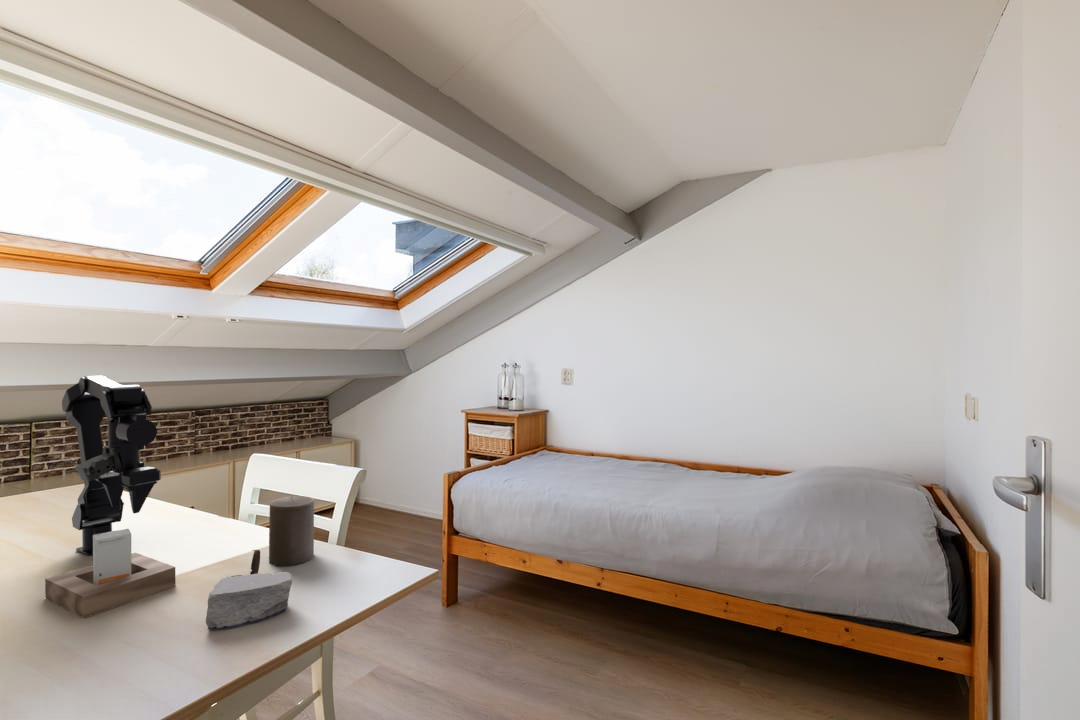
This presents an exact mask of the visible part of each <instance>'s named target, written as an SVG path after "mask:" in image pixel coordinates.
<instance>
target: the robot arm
mask: <svg viewBox="0 0 1080 720" xmlns="http://www.w3.org/2000/svg"><path fill="white" fill-rule="evenodd" d="M61 407H62V411H63V413H64V412H65V417H66V420H67V421H68V422H69V424H71V425H72V426H73V427H74V428H75V429H76V433H77V440H78V441H77V442H78V448H79V456H80V463H79V464H77V465H75V469H76V471H77V473H78V474H79V476H80V479H81V480H83V486H84V487H83V489H82V490H81V492H80V494H79V496H78V498H77V504H76V507H75V510H74V512H73V514H72V517H71V522H72V528H74V529H76V530H78V531H82V533H81V534H82V536H81V537H82V539H81V540H82V546H79V547H77V548H75V550H76V552H79V553H82V554H84V555H87V556H90V555H93V535H96V534H102V533H107V532H111V531H113V524H114V523H117V522H118V523H119V522H121V521H122V518H123V512H124V511H123V510H124V505H125V502H124V501H123V499H122V496H123V493H124V489H125V490H127V492H128V493H129V494H128V495H129V499H130V504H131V505H130V506H131V511H132V513H133V514H138V513H140V511H141V509H142V508H143V506H144V504H145V501H146V500H147V498H148V495H149V494H150V493H151V491H152V489H153V488H154V486H155V485H156V484H158V482H159V481H161V480H162V479H161V478H162V477H161V476H162V475H161V473H162V471H161V470H160V469H158V468H157V467H153V466H145V462H144V461H141V450H144V449H145V446H148V445H149V444H151V443H152V442H153V441H154V440H155V439H156V438H157V435H158V428H157V427H156V425H155V423H154V422H153V421H151V420H149V419H147V416H151V415H152V408H153V407H152V405H151V402H150V400H149V397H148V395H147V394H146V390H144V389H143V388H142V386H141V385H139V384H120V383H118V382H116V381H114V380H111V379H110V378H108V376H105V375H85V376H83V377H80V378H79V381H78V382H77V383H75V384H73V385H72V386H71V387H68V388H67V389H66V390H65V393H64V395H63V397H62V401H61ZM105 416H106V419H107V446H106V445H105V446H104V443H103V435H102V430H101V429H102V428H101V423H102V421H103V419H104V418H105Z"/></svg>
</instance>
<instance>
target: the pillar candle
mask: <svg viewBox="0 0 1080 720" xmlns="http://www.w3.org/2000/svg"><path fill="white" fill-rule="evenodd" d="M314 523H315V498H313V497H310V496H300V495H298V496H297V495H296V496H292V495H290V496H285V497H284V496H283V497H280V498H276V499H273V500H271V501H270V502H269V531H268V533H269V534H268V537H269V538H268V562H269V561H270V562H269V563H270V564H271V563H272V564H271V565H273V566H278V567H289V566H290V567H291V566H298V565H301V564H304V563H303V562H305V563H307V562H308V560H309V561H310V559H311V558H312V557H313V558H314V555H315V554H314V551H315V549H314V547H315V546H314V544H315V541H314V539H315V534H314V533H315V525H314ZM313 558H312V559H313ZM312 559H311V560H312ZM306 561H307V562H306ZM300 563H301V564H300ZM297 564H298V565H297Z"/></svg>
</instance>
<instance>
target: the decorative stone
mask: <svg viewBox="0 0 1080 720" xmlns="http://www.w3.org/2000/svg"><path fill="white" fill-rule="evenodd" d="M240 575H241V576H235V575H233V576H234V577H231V576H225V577H222V578H221V579H219V581H218V582H216V584H215V585H214V588H213V589H212V590H211V591H210V593H209V594H208V599H207V609H206V617H205V624H206V626H207V629H208V630H211V631H218V630H228V629H229V630H230V629H234V628H239V627H242V626H247V625H250V624H256V623H260V622H262V621H266V620H268V619H270V618H273V617H275V616H277V615H281V614H282V613H283V612H285V611H286V610H287V608H288V607H289V603H288V602H289V597H290V591H291V586H292V583H293V577H292V574H291V573H290V572H288V571H277V572H275V573H274V574H273V573H269V572H266V573H258V574H251V575H250V574H240Z"/></svg>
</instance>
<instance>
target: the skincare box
mask: <svg viewBox="0 0 1080 720" xmlns="http://www.w3.org/2000/svg"><path fill="white" fill-rule="evenodd" d="M131 554H132V533H131V530H130V529H129V528H124V529H118V530H112V531H111V532H107V533H102V534H96V535H93V554H92V565H93V584H94V585H96V586H98V585H101V584H104V583H107V582H110V581H113V580H116V579H120V578H123V577H126V576H129V575H131Z"/></svg>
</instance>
